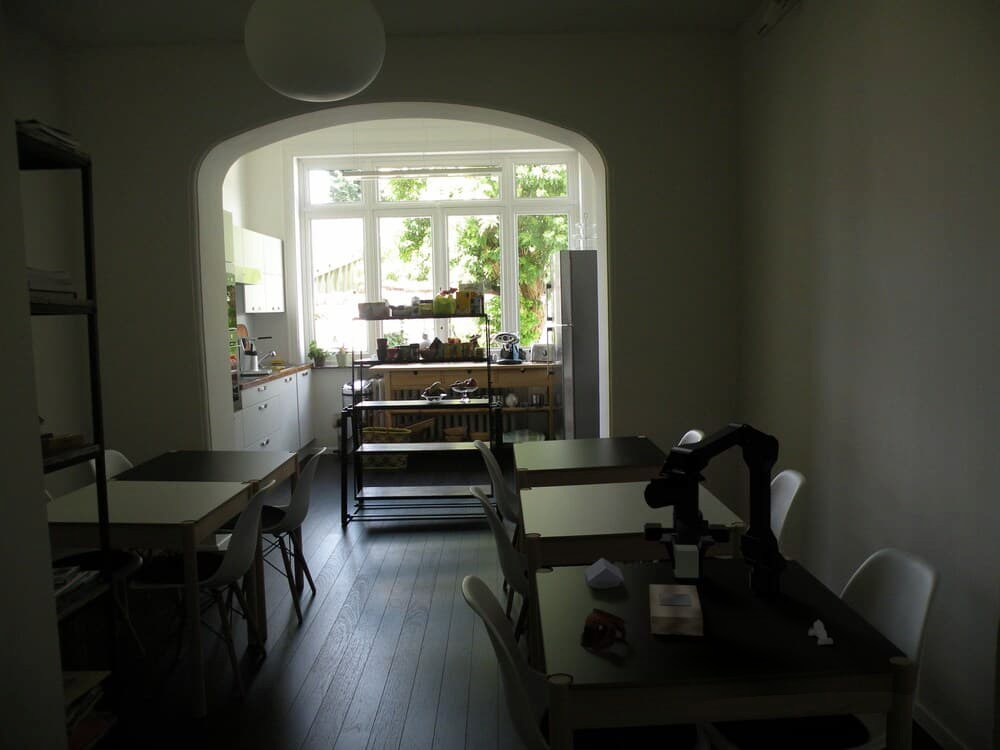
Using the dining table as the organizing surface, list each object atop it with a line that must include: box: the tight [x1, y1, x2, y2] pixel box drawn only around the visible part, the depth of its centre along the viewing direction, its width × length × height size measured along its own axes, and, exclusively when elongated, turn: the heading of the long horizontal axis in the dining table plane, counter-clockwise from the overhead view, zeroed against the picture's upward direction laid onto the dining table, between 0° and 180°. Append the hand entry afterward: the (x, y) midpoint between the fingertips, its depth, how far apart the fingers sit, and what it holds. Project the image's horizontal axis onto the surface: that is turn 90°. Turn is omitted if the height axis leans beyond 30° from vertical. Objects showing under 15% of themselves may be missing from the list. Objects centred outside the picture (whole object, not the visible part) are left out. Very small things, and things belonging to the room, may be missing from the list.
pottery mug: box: [579, 607, 627, 652], centre depth 170 cm, size 12×10×8 cm
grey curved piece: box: [806, 619, 834, 645], centre depth 173 cm, size 15×7×4 cm, turn 2°
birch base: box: [648, 583, 704, 637], centre depth 183 cm, size 11×20×4 cm, turn 171°
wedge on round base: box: [584, 557, 625, 589], centre depth 206 cm, size 9×7×13 cm
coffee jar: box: [671, 509, 705, 583], centre depth 209 cm, size 10×8×19 cm
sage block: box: [674, 545, 699, 578], centre depth 181 cm, size 5×5×6 cm
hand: (686, 569), depth 182 cm, fingers closed on sage block, 5 cm apart
